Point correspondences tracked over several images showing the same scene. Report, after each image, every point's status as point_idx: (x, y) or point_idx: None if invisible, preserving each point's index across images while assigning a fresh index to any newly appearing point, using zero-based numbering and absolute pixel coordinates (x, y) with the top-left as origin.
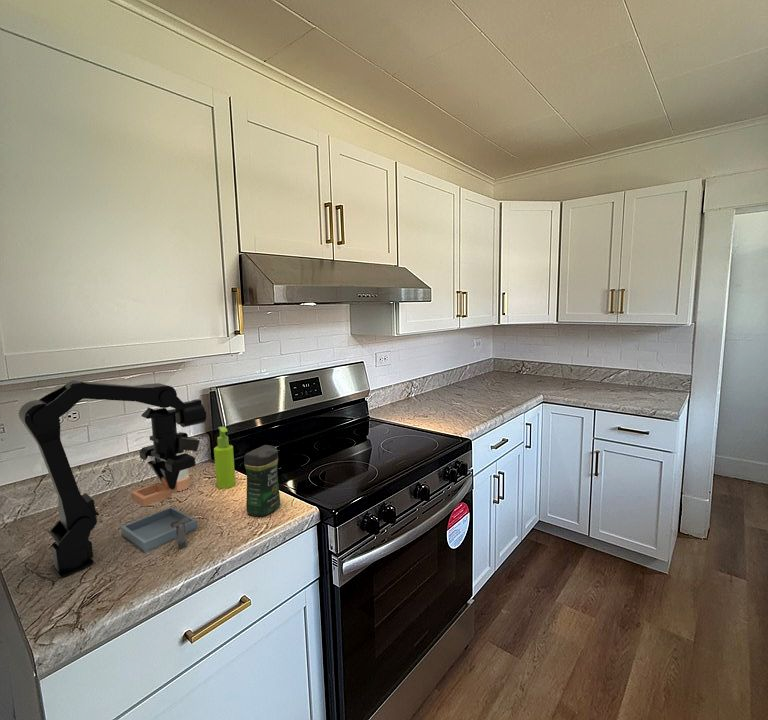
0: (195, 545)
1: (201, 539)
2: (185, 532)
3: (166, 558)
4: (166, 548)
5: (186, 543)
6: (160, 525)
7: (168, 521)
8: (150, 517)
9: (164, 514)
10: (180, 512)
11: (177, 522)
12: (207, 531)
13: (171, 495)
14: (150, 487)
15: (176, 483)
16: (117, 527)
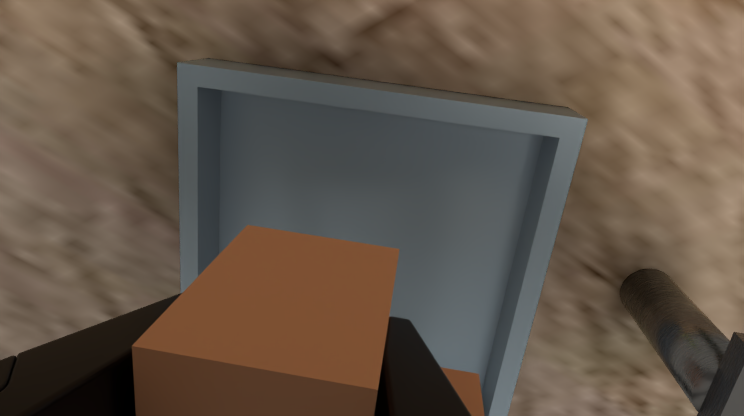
0: (724, 251)
1: (710, 187)
2: (715, 326)
3: (655, 394)
4: (567, 337)
5: (672, 281)
6: (305, 212)
7: (299, 154)
8: (202, 234)
9: (210, 133)
10: (341, 97)
11: None
12: (671, 95)
13: (480, 386)
14: None
15: (387, 310)
16: (94, 312)
